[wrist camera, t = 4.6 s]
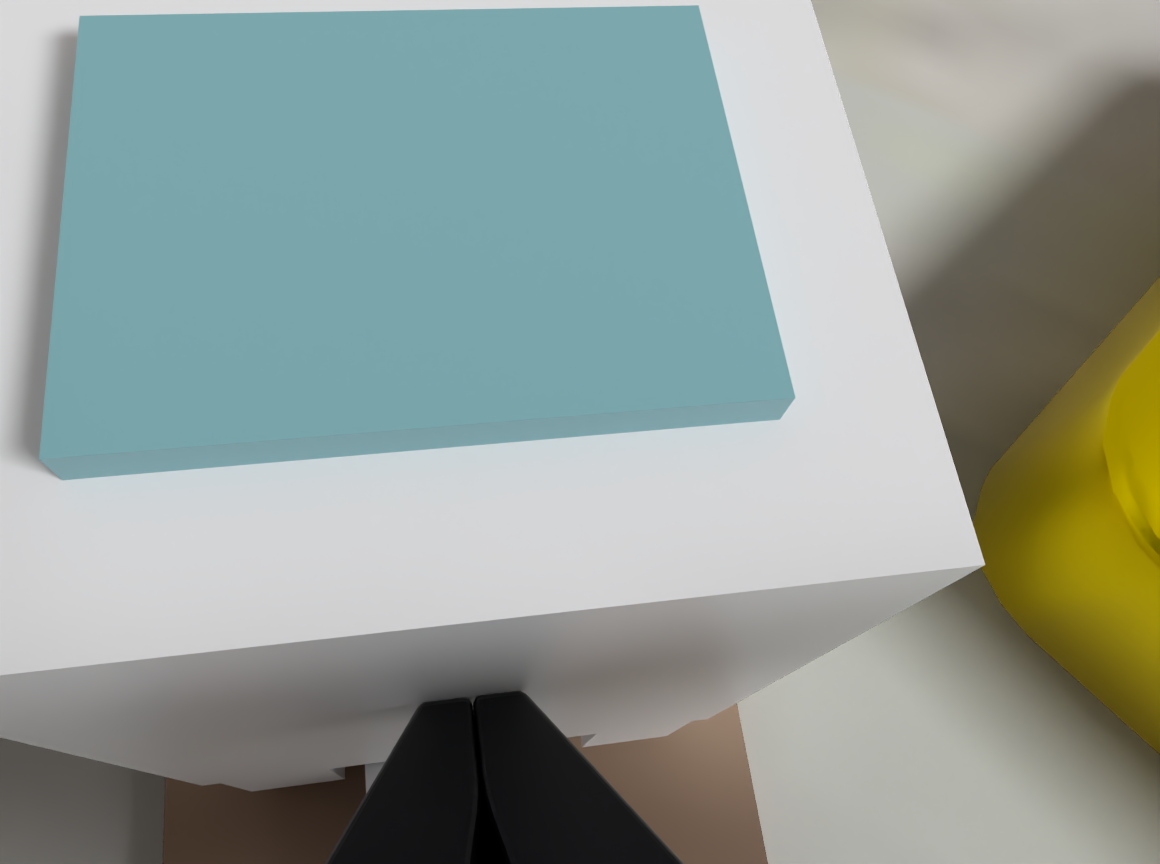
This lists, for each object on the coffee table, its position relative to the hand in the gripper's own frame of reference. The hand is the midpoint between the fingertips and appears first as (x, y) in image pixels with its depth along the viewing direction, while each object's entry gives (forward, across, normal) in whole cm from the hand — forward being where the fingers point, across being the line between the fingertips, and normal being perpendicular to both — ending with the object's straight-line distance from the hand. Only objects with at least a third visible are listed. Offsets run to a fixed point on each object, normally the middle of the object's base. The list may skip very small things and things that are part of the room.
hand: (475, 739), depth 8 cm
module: (+6, 0, +2) cm, 6 cm away
